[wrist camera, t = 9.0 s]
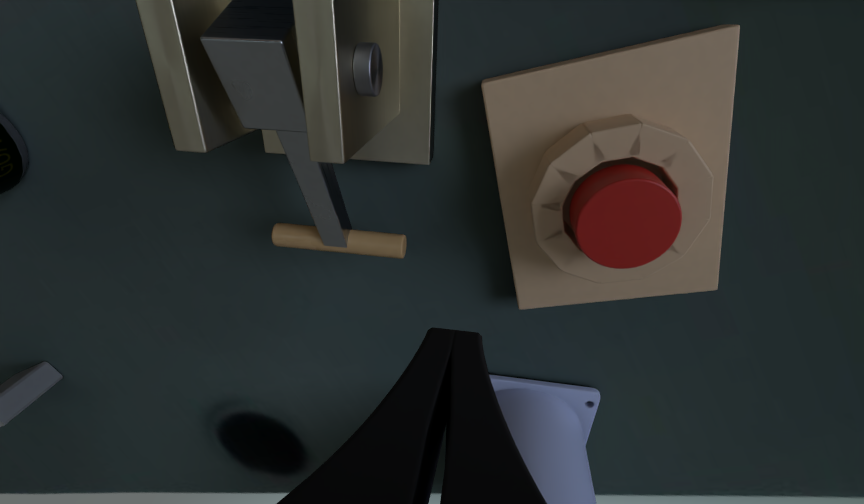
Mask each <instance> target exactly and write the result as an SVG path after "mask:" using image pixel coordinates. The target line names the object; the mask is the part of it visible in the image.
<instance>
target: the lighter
mask: <svg viewBox="0 0 864 504" xmlns="http://www.w3.org/2000/svg"><path fill="white" fill-rule="evenodd" d="M62 378H63V376H62V375H61V374H60V373H59V372H58V371H57V370H56V369H54V368H53V367H52V366H51V365H50V364H49V363H48V362H45V361H44V362H42V363H39V364H37V365H35V366H33V367H30V368H28V369H26V370H23V371H21V372H19V373H17V374H15V375H14V376H12V377H11V378H9V379H8V380H7V381H5V382H4V383H3V384H1V385H0V427H1V426H4V425H5V424H7V423H8V422H9V421H10V420H12V419H13V418H14V417H15V416H17V415H18V414H19V413H20V412H21V411H23V410H24V409H25V408H26V407H28V406H29V405H30V404H31V403H33V402H34V401H35V400H36V399H37V398H39V397H40V396H41V395H42V394H44V393H45V392H46V391H47V390H48V389H50V388H51V387H52V386H53V385H55V384H56V383H57V382H58V381H60V380H61V379H62Z"/></svg>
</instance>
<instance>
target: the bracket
mask: <svg viewBox="0 0 864 504" xmlns="http://www.w3.org/2000/svg"><path fill="white" fill-rule="evenodd" d="M135 1H136V4H137V8H138V12H139V16H140V19H141V23H142V27H143V31H144V35H145V38H146V42H147V46H148V50H149V53H150V57H151V61H152V65H153V68H154V72H155V76H156V80H157V83H158V87H159V91H160V95H161V98H162V102H163V106H164V110H165V113H166V117H167V121H168V125H169V129H170V132H171V136H172V140H173V144H174V147H175V149H176V150H177V151H187V152H200V153H207V152H209V151H211V150H214V149H216V148H218V147H220V146H222V145H225V144H227V143H229V142H231V141H234V140H236V139H238V138H240V137H242V136H245V135H247V134H249V133H251V132H254V131H256V130H258V129H248V128H244V127H243V126H242V124H241V122H240V120H239V117H238V115H237V113H236V111H235V109H234V107H233V105H232V103H231V101H230V99H229V97H228V95H227V93H226V91H225V89H224V87H223V85H222V83H221V81H220V79H219V77H218V75H217V73H216V71H215V69H214V67H213V65H212V63H211V61H210V59H209V57H208V55H207V53H206V51H205V49H204V47H203V45H202V43H201V41H200V37H201V36H202V35H203V34H204V32H205V31H206V30H207V29H208V28H209V26H210V25H211V24H212V23H213V22H214V21H215V19H216V18H217V17H218V16H219V15H220V14H221V12H222V11H223V10H224V9H225V8H226V6H227V5H228V4H229V3H230V2H231V1H232V0H135ZM438 1H439V0H292V2H293V11H294V20H295V29H296V38H297V47H298V56H299V65H300V74H301V83H302V92H303V101H304V110H305V119H306V128H307V137H308V146H309V155H310V161H313V162H326V163H339V164H344V163H346V162H347V161H348V160H349V159H356V160H370V161H383V162H396V163H409V164H423V165H429V164H430V162H431V160H432V158H433V151H434V121H435V91H436V61H437V31H438ZM262 136H263V142H264V148H265V152H266V153H277V154H285V151H284V149H283V146H282V144H281V142H280V139H279V137H278V135H277V132H276V130H262Z"/></svg>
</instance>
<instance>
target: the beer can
mask: <svg viewBox="0 0 864 504" xmlns="http://www.w3.org/2000/svg"><path fill="white" fill-rule="evenodd" d="M28 164H29V161H28V151H27V148H26V146H25V144H24V141H23V139H22V137H21V136H20V134H19V133H18V132H17V130H16V129H15V127H14V126H13V125H12V123H11V122H9V121H8V120H7V119H6V118H5V117H4V116H3V115H2V114H1V113H0V194H2V193H4V192H6V191H8V190H10V189H11V188H13V187H14V186H15V185H17V184H18V183H19V182H20V180H21V179H22V177H23V175H24V174H25V172H26V169H27V167H28Z"/></svg>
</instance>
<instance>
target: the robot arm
mask: <svg viewBox="0 0 864 504" xmlns="http://www.w3.org/2000/svg"><path fill="white" fill-rule="evenodd" d="M588 401H591V402H588ZM599 401H600V393H599V391H598V390H597V389H595V388H591V387H583V386H576V385H568V384H560V383H552V382H545V381H537V380H529V379H521V378H514V377H506V376H498V375H490V374H489V373H488V369H487V365H486V361H485V356H484V351H483V345H482V336H481V335H480V334H479V333H476V332H467V331H458V330H450V329H441V328H431V329H429V330H428V331H427V334H426V336H425V338H424V340H423V342H422V344H421V345H420V347H419V349H418V351H417V352H416V354H415V356H414V357H413V359H412V360H411V362H410V364H409V365H408V366H407V368H406V369H405V371H404V372H403V374H402V375H401V377H400V378H399V379H398V381H397V382H396V384H395V385H394V386H393V388H392V389H391V390H390V392H389V393H388V394H387V395H386V397H385V398H384V399H383V400H382V402H381V403H380V404H379V405H378V407H377V408H376V409H375V410H374V412H373V413H372V414H371V415H370V416H369V417H368V419H367V420H366V421H365V422H364V423H363V424H362V425H361V426H360V427H359V429H358V430H357V431H356V432H355V433H354V434H353V435H352V436H351V437H350V438H349V439H348V440H347V441H346V442H345V443H344V444H343V445H342V446H341V447H340V448H339V449H338V450H337V451H336V452H335V453H334V454H333V455H332V456H331V457H330V458H329V459H328V460H327V461H326V462H325V463H324V464H322V465H321V466H320V467H319V468H318V469H317V470H316V471H315V472H314V473H313V474H311V475H310V476H309V477H308V478H307V479H305V480H304V481H303V482H302V483H301V484H300V485H298V486H297V487H296V488H295V489H294V490H292V491H291V492H290V493H289V494H288V495H286V496H285V497H284V498H283V499H282V500H280V501H279V502H278V503H277V504H428V503H429V498H430V494H431V489H432V485H433V480H434V476H435V472H436V467H437V463H438V458H439V454H440V449H441V445H442V440H443V436H444V431H445V427H446V455H445V471H444V479H443V486H442V494H441V501H440V504H596V499H595V494H594V489H593V484H592V479H591V473H590V468H589V463H588V458H587V453H586V448H585V445H586V442H587V439H588V436H589V433H590V430H591V426H592V423H593V420H594V417H595V414H596V411H597V408H598V404H599ZM446 422H447V424H446Z"/></svg>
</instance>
